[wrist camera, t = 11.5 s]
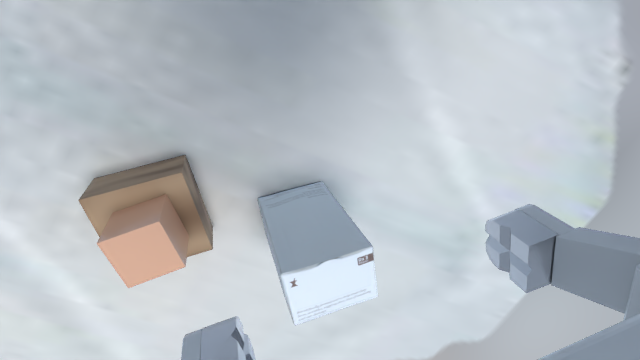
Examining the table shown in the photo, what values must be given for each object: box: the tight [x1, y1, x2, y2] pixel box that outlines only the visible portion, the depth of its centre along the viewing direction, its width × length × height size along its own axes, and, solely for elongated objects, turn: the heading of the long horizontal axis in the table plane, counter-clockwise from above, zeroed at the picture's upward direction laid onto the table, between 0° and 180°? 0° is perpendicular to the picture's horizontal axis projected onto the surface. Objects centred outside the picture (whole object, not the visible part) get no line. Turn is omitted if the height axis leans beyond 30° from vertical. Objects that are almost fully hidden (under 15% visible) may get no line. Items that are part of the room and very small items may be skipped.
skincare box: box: [258, 182, 378, 325], centre depth 36 cm, size 8×6×15 cm
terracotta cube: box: [97, 194, 189, 288], centre depth 32 cm, size 5×5×5 cm
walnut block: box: [79, 155, 213, 257], centre depth 36 cm, size 9×9×5 cm
